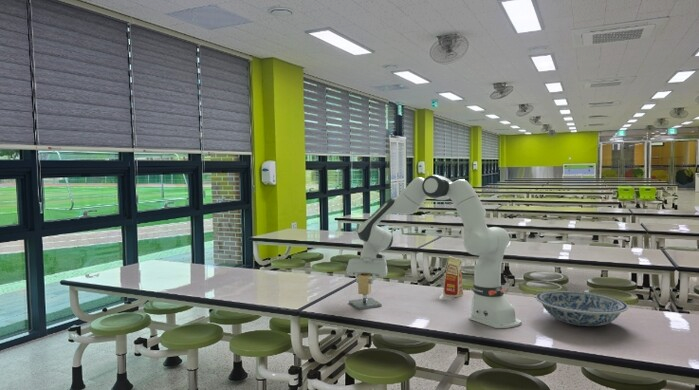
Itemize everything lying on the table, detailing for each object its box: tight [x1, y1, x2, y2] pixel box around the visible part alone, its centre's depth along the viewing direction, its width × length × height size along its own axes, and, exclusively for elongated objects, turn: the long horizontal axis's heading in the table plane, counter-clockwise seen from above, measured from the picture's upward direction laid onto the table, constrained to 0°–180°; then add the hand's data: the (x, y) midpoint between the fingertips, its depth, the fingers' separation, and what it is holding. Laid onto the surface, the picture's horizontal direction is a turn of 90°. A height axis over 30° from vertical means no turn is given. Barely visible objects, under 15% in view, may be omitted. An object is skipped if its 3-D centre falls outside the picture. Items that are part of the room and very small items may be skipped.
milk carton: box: [442, 255, 464, 298], centre depth 238 cm, size 9×9×20 cm
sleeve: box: [357, 273, 372, 296], centre depth 224 cm, size 5×5×9 cm
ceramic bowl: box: [535, 290, 629, 327], centre depth 192 cm, size 34×34×10 cm
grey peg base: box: [348, 294, 382, 311], centre depth 224 cm, size 12×12×6 cm
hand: (364, 282), depth 223 cm, fingers closed on sleeve, 5 cm apart
